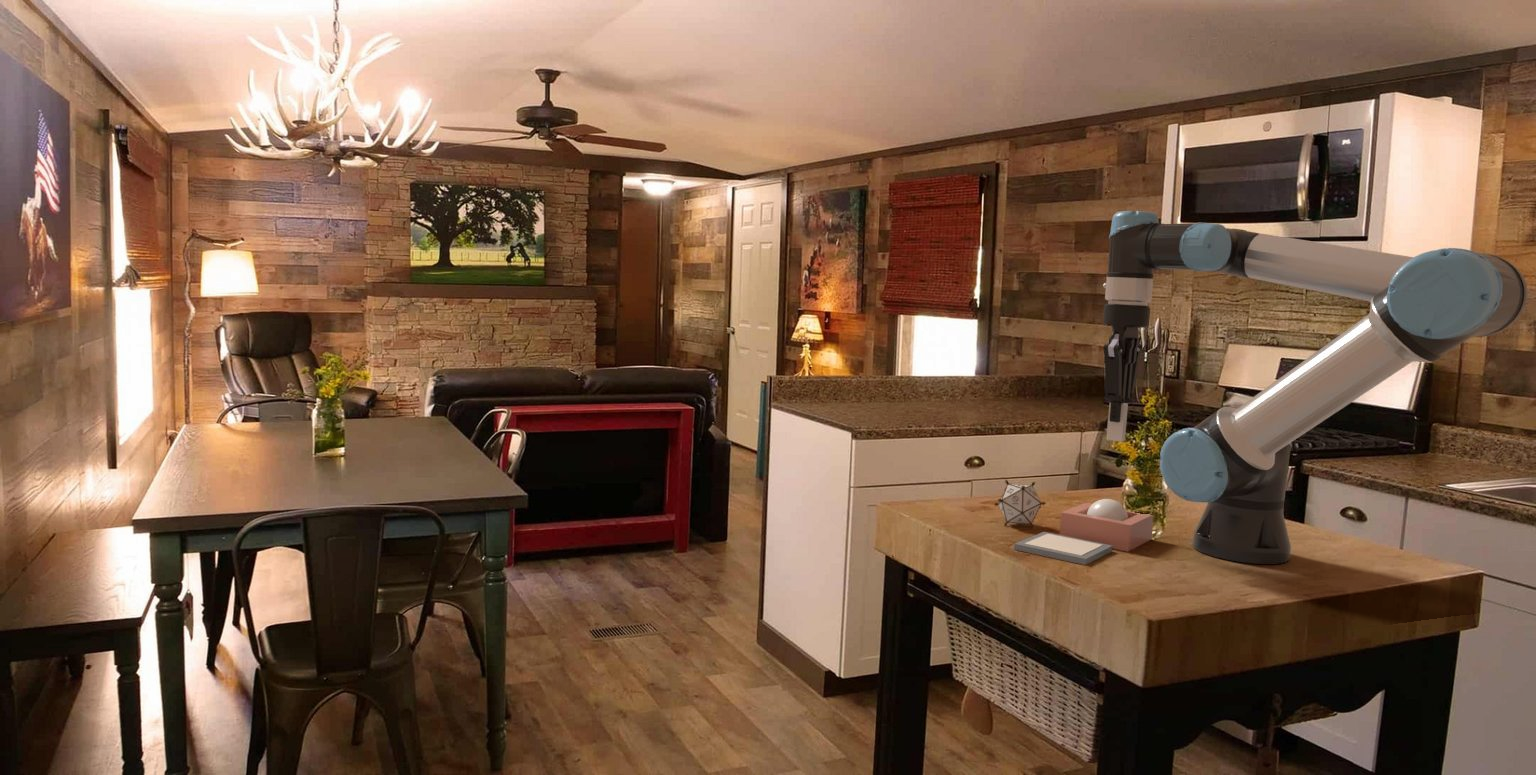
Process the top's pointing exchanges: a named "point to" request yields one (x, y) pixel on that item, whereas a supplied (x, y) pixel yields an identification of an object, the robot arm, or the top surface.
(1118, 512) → the white ball
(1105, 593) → the top surface
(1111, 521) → the pink open box
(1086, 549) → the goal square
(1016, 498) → the game die
